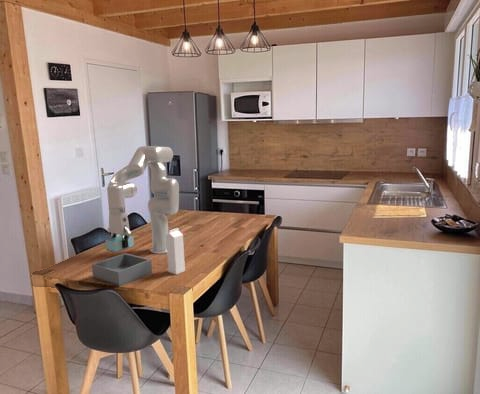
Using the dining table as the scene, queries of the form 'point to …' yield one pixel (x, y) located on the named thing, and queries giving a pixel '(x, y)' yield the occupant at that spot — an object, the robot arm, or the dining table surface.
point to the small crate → (118, 243)
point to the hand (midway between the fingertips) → (120, 246)
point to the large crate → (122, 269)
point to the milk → (175, 251)
